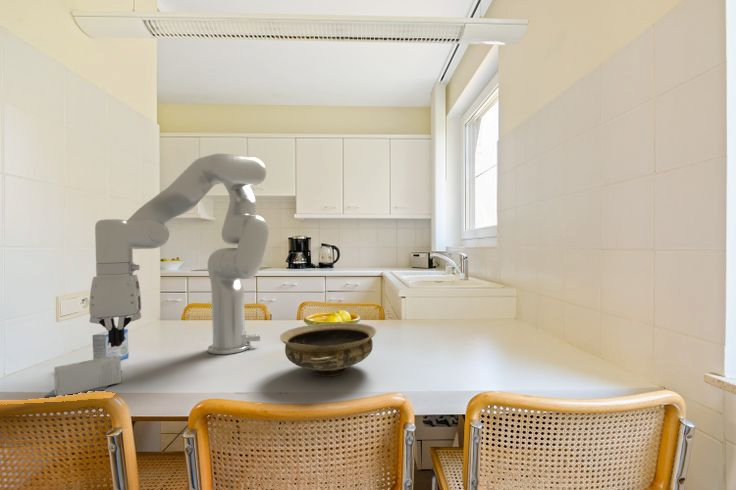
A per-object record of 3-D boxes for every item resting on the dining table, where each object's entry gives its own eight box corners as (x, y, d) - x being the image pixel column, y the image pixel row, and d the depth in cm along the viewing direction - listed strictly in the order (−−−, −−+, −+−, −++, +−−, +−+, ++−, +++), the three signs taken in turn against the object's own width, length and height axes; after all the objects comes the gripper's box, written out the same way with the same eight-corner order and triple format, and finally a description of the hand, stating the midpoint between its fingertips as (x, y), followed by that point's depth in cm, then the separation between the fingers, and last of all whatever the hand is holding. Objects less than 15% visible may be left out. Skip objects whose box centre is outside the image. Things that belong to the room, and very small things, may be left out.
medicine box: (106, 366, 106) (105, 334, 106) (92, 365, 107) (91, 334, 107) (129, 357, 114) (128, 328, 114) (116, 357, 115) (115, 328, 115)
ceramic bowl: (295, 355, 112) (295, 320, 112) (377, 353, 111) (376, 319, 111) (264, 395, 82) (263, 348, 82) (376, 394, 81) (375, 346, 81)
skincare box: (116, 354, 94) (53, 365, 86) (121, 357, 91) (57, 369, 82) (116, 379, 94) (53, 393, 85) (121, 383, 91) (56, 398, 82)
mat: (122, 371, 101) (122, 370, 101) (103, 390, 87) (103, 389, 87) (72, 377, 97) (72, 375, 97) (44, 398, 84) (44, 396, 84)
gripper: (152, 268, 100) (154, 339, 100) (84, 270, 95) (86, 344, 95) (145, 269, 92) (147, 346, 92) (72, 272, 88) (73, 352, 88)
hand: (116, 345), depth 94 cm, fingers closed
